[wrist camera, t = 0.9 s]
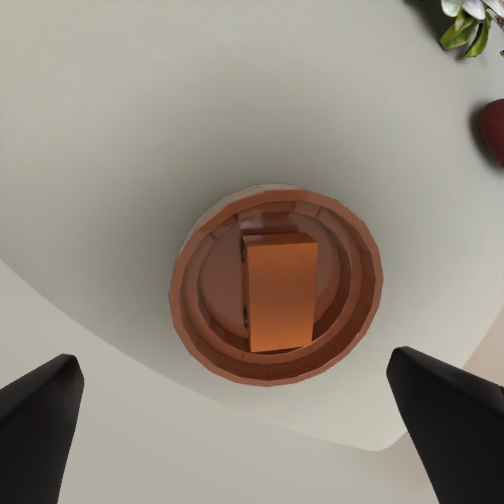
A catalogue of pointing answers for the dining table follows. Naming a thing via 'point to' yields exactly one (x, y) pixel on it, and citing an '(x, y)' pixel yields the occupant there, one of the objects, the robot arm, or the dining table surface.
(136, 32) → the dining table surface
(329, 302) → the bowl
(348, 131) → the dining table surface
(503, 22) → the dinosaur figurine
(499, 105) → the potato
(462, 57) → the passion flower
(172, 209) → the dining table surface
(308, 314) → the orange block
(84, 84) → the dining table surface
